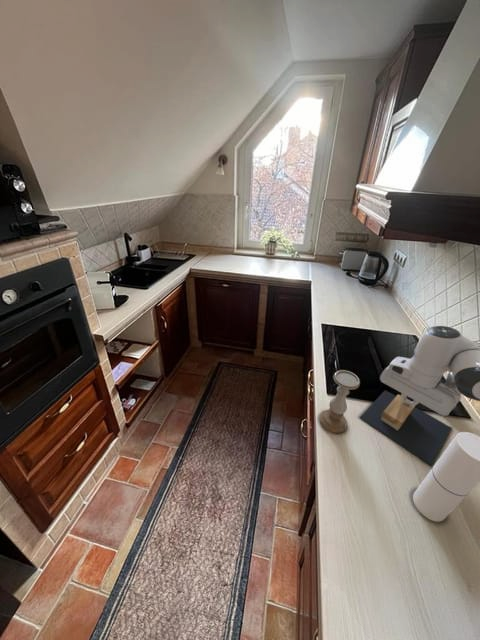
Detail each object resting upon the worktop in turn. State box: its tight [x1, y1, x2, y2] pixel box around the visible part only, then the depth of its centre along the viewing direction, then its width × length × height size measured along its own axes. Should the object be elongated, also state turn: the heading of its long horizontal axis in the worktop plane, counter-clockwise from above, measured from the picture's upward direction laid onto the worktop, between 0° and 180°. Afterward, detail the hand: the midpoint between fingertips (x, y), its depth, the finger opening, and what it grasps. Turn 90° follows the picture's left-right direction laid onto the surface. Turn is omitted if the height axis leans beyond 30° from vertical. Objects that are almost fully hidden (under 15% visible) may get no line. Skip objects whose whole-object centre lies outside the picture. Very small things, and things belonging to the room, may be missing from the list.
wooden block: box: [381, 393, 417, 431], centre depth 88 cm, size 4×12×6 cm
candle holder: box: [319, 369, 361, 434], centre depth 82 cm, size 9×9×20 cm
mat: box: [359, 389, 452, 467], centre depth 87 cm, size 22×20×1 cm
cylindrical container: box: [412, 431, 480, 523], centre depth 59 cm, size 7×7×25 cm
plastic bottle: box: [443, 372, 462, 412], centre depth 88 cm, size 6×7×20 cm
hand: (406, 405), depth 85 cm, fingers closed
